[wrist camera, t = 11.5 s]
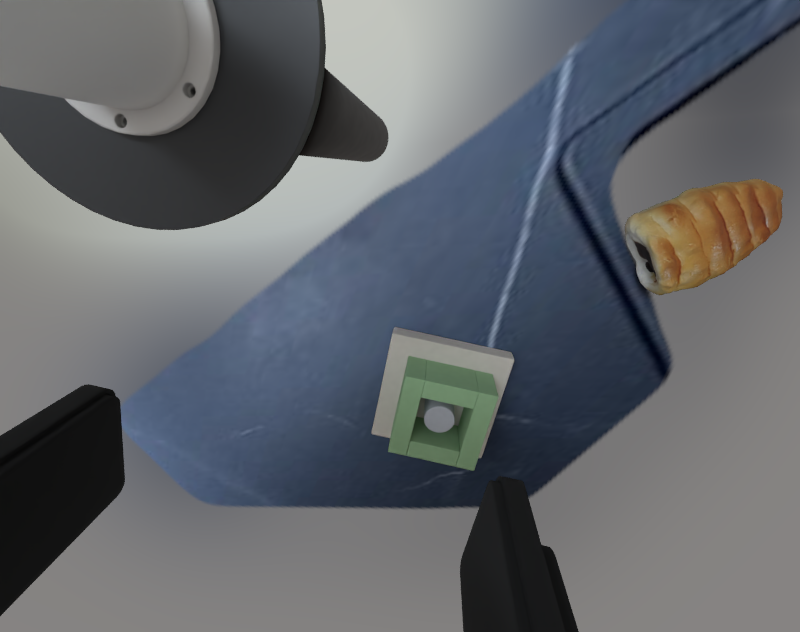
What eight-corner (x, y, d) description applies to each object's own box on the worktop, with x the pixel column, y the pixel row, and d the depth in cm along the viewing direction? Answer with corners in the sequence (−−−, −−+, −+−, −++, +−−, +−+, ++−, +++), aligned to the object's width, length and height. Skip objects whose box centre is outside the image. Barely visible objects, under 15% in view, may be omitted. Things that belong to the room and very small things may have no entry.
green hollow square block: (408, 355, 33) (405, 376, 29) (492, 373, 33) (499, 396, 29) (392, 425, 35) (387, 451, 32) (470, 443, 35) (474, 471, 32)
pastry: (752, 152, 27) (800, 150, 23) (774, 241, 29) (823, 251, 25) (612, 219, 29) (637, 227, 26) (641, 298, 31) (668, 315, 27)
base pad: (394, 326, 34) (387, 348, 29) (511, 351, 33) (522, 378, 29) (373, 424, 37) (365, 457, 33) (479, 447, 37) (485, 483, 33)
